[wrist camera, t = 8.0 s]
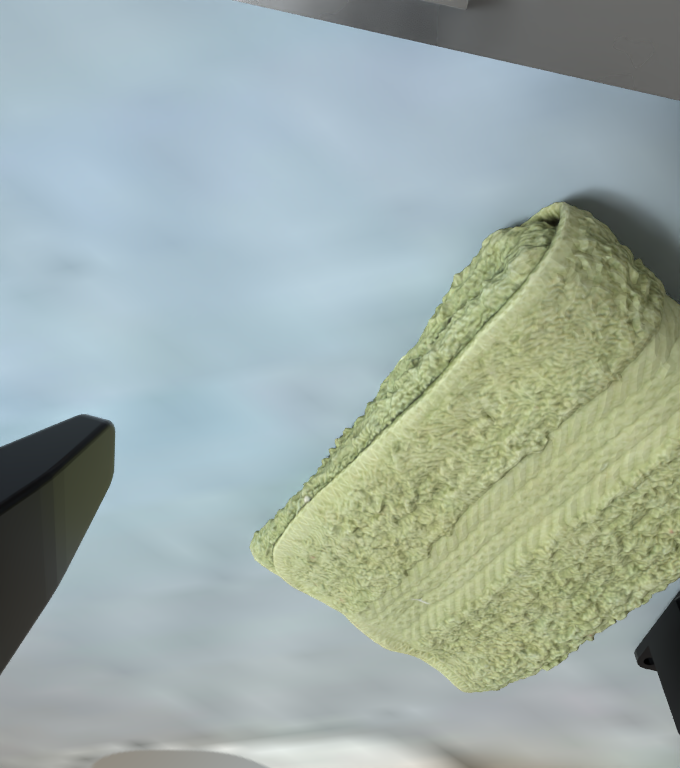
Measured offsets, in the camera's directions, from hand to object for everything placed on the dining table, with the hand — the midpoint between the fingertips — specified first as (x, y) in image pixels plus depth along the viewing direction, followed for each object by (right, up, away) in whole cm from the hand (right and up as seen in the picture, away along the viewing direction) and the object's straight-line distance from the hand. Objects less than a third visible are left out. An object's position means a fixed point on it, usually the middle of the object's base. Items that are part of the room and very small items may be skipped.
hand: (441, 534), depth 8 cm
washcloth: (+5, -1, +15) cm, 15 cm away
